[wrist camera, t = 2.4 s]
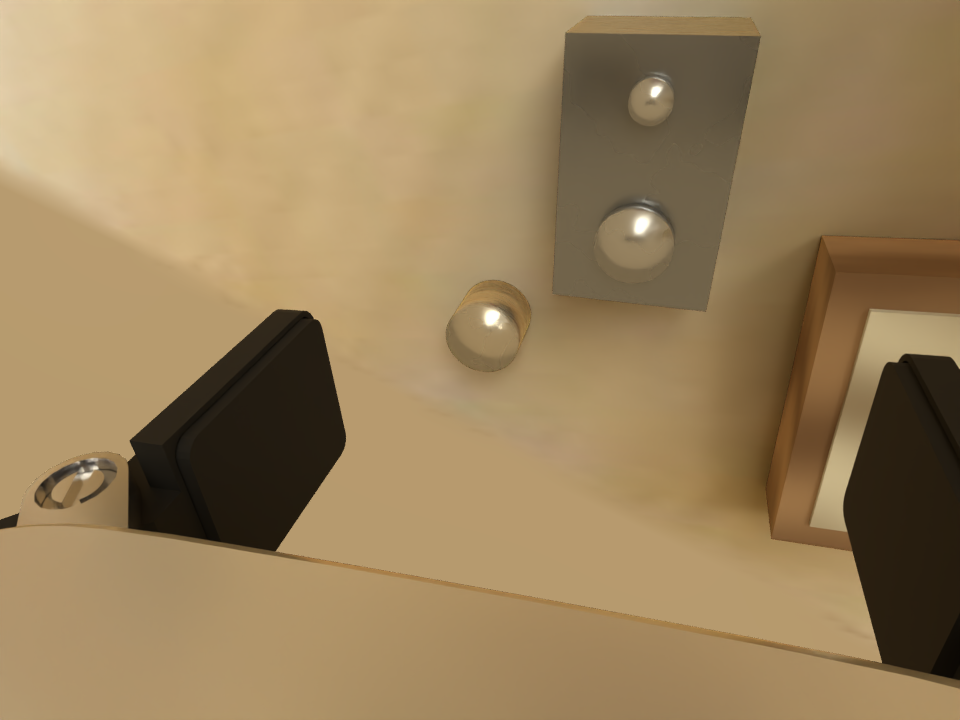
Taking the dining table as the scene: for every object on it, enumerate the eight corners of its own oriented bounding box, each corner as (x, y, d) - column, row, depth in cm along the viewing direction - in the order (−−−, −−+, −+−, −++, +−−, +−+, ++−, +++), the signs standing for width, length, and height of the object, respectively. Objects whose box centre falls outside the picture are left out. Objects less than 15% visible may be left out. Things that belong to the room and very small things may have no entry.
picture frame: (822, 235, 23) (837, 274, 20) (1179, 248, 20) (1249, 295, 17) (765, 488, 29) (771, 542, 27) (1030, 523, 26) (1065, 587, 24)
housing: (588, 15, 21) (561, 35, 17) (750, 17, 20) (762, 39, 16) (573, 243, 26) (549, 301, 22) (705, 256, 24) (706, 320, 20)
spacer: (461, 277, 28) (442, 304, 26) (530, 281, 27) (516, 310, 25) (466, 338, 29) (449, 368, 27) (531, 344, 29) (518, 375, 27)
